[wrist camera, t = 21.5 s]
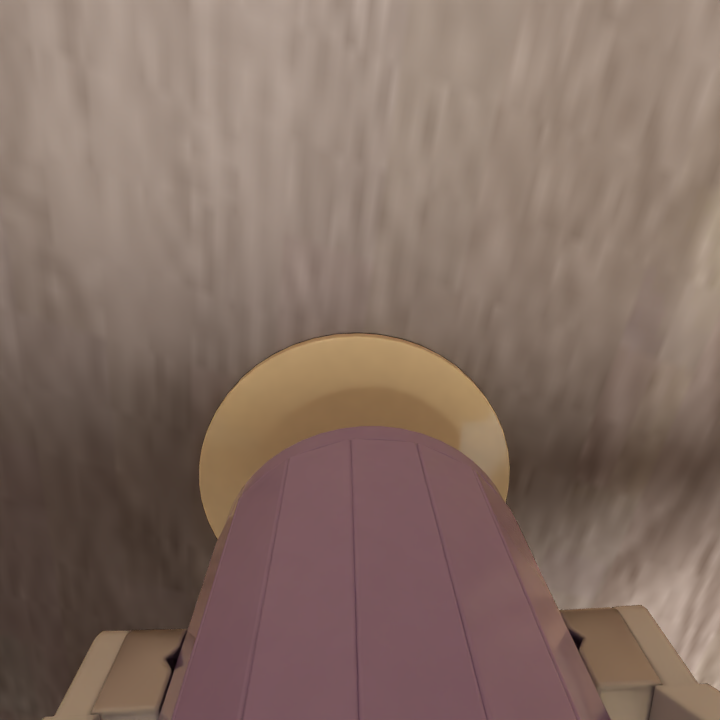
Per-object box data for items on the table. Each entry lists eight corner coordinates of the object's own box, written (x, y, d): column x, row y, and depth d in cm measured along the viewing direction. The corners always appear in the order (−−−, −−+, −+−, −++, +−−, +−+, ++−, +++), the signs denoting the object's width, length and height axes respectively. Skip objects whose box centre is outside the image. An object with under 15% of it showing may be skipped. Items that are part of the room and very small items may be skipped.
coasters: (122, 897, 20) (119, 907, 20) (16, 330, 13) (9, 333, 13) (457, 888, 21) (459, 898, 21) (523, 334, 14) (527, 338, 14)
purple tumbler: (222, 662, 13) (99, 1173, 7) (222, 415, 11) (43, 793, 4) (489, 672, 13) (630, 1168, 7) (536, 434, 11) (803, 812, 5)
